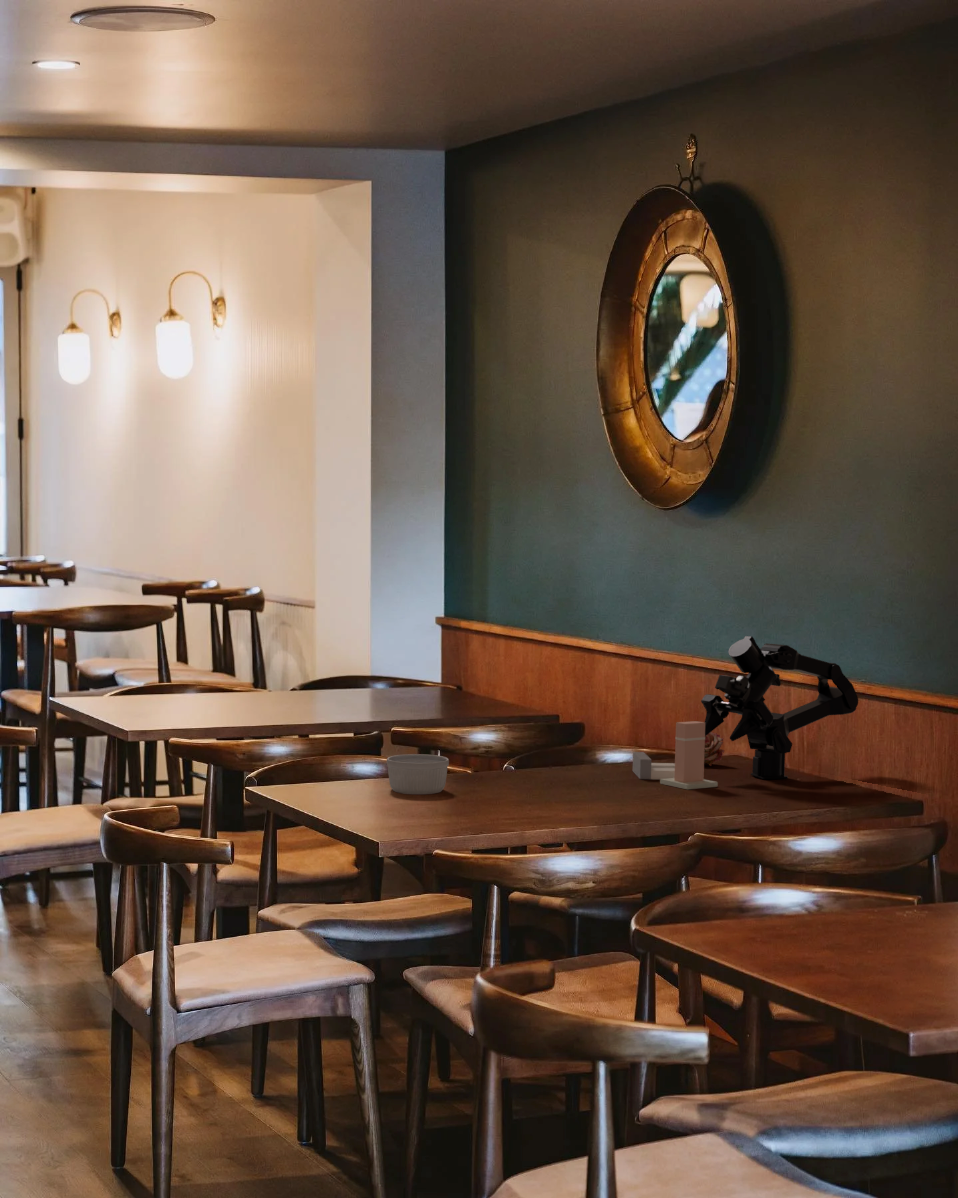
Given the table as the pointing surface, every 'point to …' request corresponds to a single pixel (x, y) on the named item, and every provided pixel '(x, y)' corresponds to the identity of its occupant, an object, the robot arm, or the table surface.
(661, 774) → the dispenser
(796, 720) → the robot arm
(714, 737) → the flower
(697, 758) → the banded beige post
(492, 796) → the table surface
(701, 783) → the pad
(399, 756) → the ramekin
